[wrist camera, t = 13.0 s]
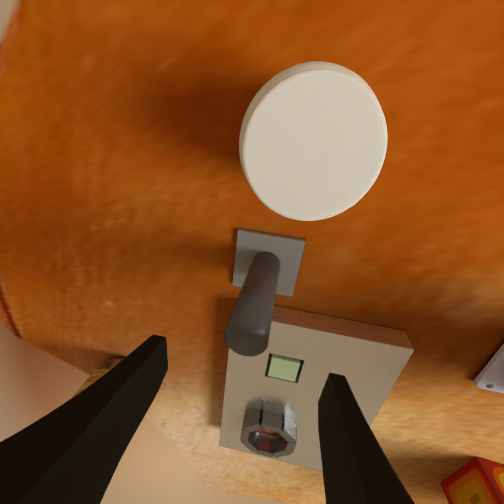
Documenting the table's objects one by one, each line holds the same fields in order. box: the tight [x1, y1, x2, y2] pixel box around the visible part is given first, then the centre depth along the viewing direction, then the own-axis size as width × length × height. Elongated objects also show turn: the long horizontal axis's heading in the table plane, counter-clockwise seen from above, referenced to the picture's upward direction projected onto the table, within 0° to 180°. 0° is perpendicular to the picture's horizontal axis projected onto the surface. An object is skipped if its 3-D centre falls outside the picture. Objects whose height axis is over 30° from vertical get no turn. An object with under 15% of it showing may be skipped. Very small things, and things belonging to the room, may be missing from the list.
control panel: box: [219, 305, 414, 472], centre depth 24 cm, size 14×20×3 cm
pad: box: [268, 354, 300, 382], centre depth 22 cm, size 2×2×2 cm
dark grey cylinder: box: [224, 252, 280, 356], centre depth 16 cm, size 2×2×8 cm
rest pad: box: [232, 228, 305, 297], centre depth 20 cm, size 5×5×1 cm
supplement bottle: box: [239, 61, 387, 221], centre depth 11 cm, size 5×5×10 cm
